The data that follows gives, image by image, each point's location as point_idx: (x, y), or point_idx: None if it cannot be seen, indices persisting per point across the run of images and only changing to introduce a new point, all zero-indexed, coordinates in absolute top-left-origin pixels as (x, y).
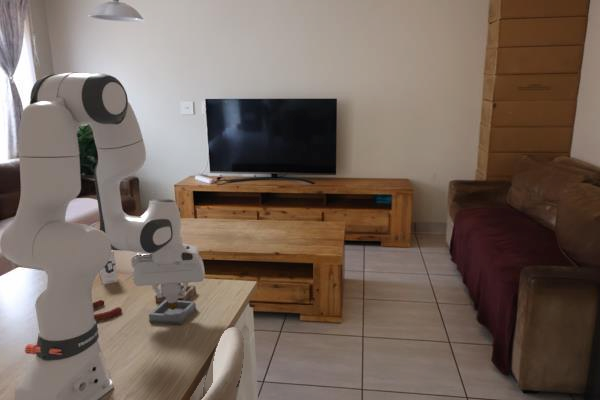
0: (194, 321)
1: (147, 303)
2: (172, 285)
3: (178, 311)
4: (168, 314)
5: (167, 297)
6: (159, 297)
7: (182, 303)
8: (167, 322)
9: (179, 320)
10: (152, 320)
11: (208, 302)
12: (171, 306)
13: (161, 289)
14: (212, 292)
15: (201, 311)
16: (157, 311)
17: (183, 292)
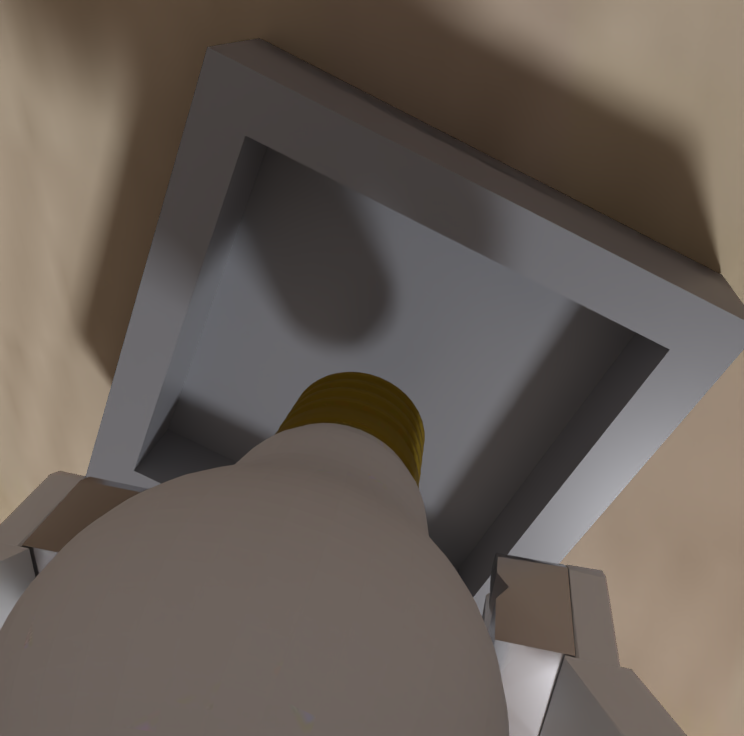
0: (89, 110)
1: (689, 716)
2: (82, 703)
3: None
4: (418, 216)
5: (379, 490)
6: (556, 567)
7: None
8: (454, 141)
9: (246, 48)
10: (682, 263)
11: None
12: (364, 394)
13: (488, 706)
14: None
15: (64, 357)
16: (596, 420)
17: (28, 522)
